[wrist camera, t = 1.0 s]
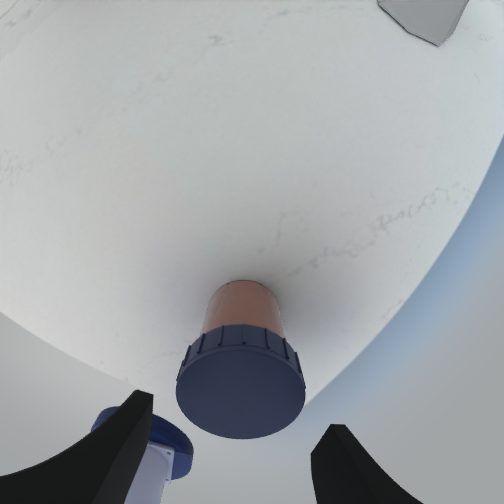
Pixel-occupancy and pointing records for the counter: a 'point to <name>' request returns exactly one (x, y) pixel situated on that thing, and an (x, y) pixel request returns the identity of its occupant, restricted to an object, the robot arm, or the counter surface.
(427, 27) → the flask
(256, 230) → the counter surface
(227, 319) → the jar
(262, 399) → the lid
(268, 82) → the counter surface
